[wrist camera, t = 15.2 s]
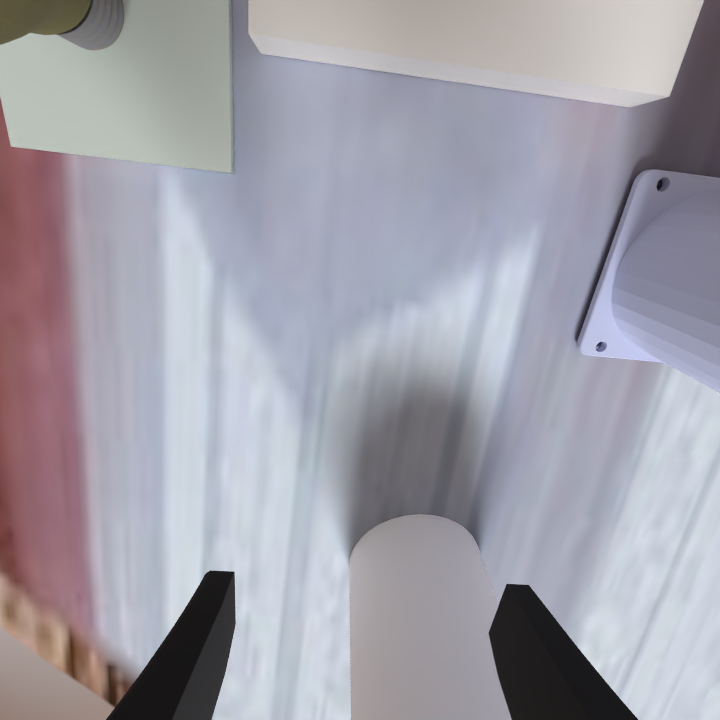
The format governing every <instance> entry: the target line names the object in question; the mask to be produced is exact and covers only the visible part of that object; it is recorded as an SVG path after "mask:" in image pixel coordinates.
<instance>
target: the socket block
mask: <svg viewBox="0 0 720 720" xmlns="http://www.w3.org/2000/svg"><path fill="white" fill-rule="evenodd" d="M703 2H704V0H248V34H249V36H250V37H251V39H252V40H253V42H254V44H255V45H256V47H257V48H258V50H259V52H260V53H261V54H266V55H273V56H280V57H287V58H294V59H300V60H307V61H314V62H321V63H328V64H335V65H342V66H349V67H355V68H362V69H369V70H376V71H383V72H390V73H397V74H403V75H410V76H417V77H424V78H431V79H438V80H445V81H452V82H458V83H465V84H472V85H479V86H486V87H493V88H500V89H506V90H513V91H520V92H527V93H534V94H541V95H548V96H555V97H561V98H568V99H575V100H582V101H589V102H596V103H603V104H609V105H616V106H623V107H634V106H637V105H641V104H645V103H648V102H652V101H655V100H659V99H662V98H666V97H670V94H671V91H672V88H673V85H674V83H675V80H676V77H677V74H678V72H679V69H680V66H681V63H682V60H683V58H684V55H685V52H686V49H687V46H688V44H689V41H690V38H691V35H692V33H693V30H694V27H695V24H696V21H697V19H698V16H699V13H700V10H701V7H702V5H703Z"/></svg>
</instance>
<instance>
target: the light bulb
mask: <svg viewBox="0 0 720 720" xmlns="http://www.w3.org/2000/svg"><path fill="white" fill-rule="evenodd" d="M124 14H125V12H124V4H123V0H0V45H2V44H5V43H8V42H10V41H13V40H15V39H18V38H21V37H23V36H25V35H27V34H29V33H34V34H41V35H58V36H60V37H62V38H64V39H66V40H68V41H70V42H72V43H74V44H76V45H77V46H79V47H82V48H84V49H87V50H93V51H94V50H101V49H105V48H107V47H109V46H111V45H112V44H113V43H114V42H115V41H116V40H117V39H118V37H119V35H120V33H121V31H122V28H123V24H124Z"/></svg>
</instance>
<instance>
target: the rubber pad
mask: <svg viewBox="0 0 720 720" xmlns="http://www.w3.org/2000/svg"><path fill="white" fill-rule="evenodd" d="M123 4H124V12H125V14H124V24H123V28H122V31H121V33H120V35H119V37H118V39H117V40H116V41H115V42H114V43H113V44H112V45H111V46H109V47H107V48H105V49H101V50H94V51H93V50H87V49H84V48H82V47H79V46H77V45H76V44H74V43H72V42H70V41H68V40H66V39H64V38H62V37H60V36H58V35H41V34H34V33H29V34H27V35H25V36H23V37H21V38H18V39H15V40H13V41H10V42H8V43H5V44H2V45H0V97H1V102H2V106H3V111H4V116H5V120H6V125H7V130H8V135H9V139H10V144H11V146H12V147H20V148H28V149H36V150H44V151H53V152H61V153H69V154H77V155H85V156H94V157H102V158H110V159H118V160H127V161H135V162H143V163H151V164H159V165H168V166H176V167H184V168H192V169H200V170H209V171H217V172H225V173H233V174H234V132H233V62H232V0H123Z"/></svg>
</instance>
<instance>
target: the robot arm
mask: <svg viewBox="0 0 720 720" xmlns="http://www.w3.org/2000/svg"><path fill="white" fill-rule="evenodd" d="M660 179H662V181H663V184H662V187H661V188H660V189H659V190H657V188H656V187H657V183H658V181H659V180H660ZM599 342H602V344H601V346H600V347H599V348H597V349H596V345H597V344H598V343H599ZM577 349H578V350H579V351H580V352H581V353H582V354H584V355H590V356H600V357H611V358H622V359H632V360H643V361H654V362H664V363H666V364H668V365H670V366H672V367H674V368H675V369H677V370H679V371H681V372H683V373H685V374H686V375H688V376H690V377H692V378H694V379H695V380H697V381H699V382H701V383H703V384H705V385H706V386H708V387H710V388H712V389H714V390H716V391H717V392H719V393H720V178H717V177H710V176H702V175H695V174H687V173H680V172H672V171H665V170H657V169H652V170H645V171H643V172H641V173H640V174H639V175H638V176H637V177H636V179H635V180H634V183H633V186H632V188H631V191H630V194H629V197H628V200H627V202H626V205H625V208H624V211H623V214H622V217H621V219H620V222H619V225H618V228H617V231H616V234H615V236H614V239H613V242H612V245H611V248H610V250H609V253H608V256H607V259H606V262H605V265H604V267H603V270H602V273H601V276H600V279H599V282H598V284H597V287H596V290H595V293H594V296H593V298H592V301H591V304H590V307H589V310H588V313H587V315H586V318H585V321H584V324H583V327H582V330H581V332H580V335H579V338H578V341H577ZM235 624H236V623H235V578H234V572H228V571H209V572H207V573H206V574H205V576H204V578H203V579H202V581H201V583H200V585H199V586H198V588H197V590H196V592H195V593H194V595H193V597H192V598H191V600H190V601H189V603H188V605H187V606H186V608H185V609H184V611H183V613H182V614H181V616H180V617H179V619H178V620H177V622H176V623H175V625H174V626H173V628H172V630H171V631H170V632H169V634H168V635H167V637H166V638H165V640H164V641H163V643H162V644H161V645H160V647H159V648H158V650H157V651H156V653H155V654H154V656H153V657H152V658H151V660H150V661H149V663H148V664H147V666H146V667H145V668H144V670H143V671H142V673H141V674H140V675H139V677H138V678H137V679H136V681H135V682H134V683H133V685H132V686H131V687H130V689H129V690H128V691H127V693H126V694H125V695H124V697H123V698H122V699H121V701H120V702H119V703H118V705H117V706H116V707H115V709H114V710H113V711H112V713H111V714H110V715H109V716H108V718H107V719H106V720H211V719H212V716H213V712H214V709H215V706H216V702H217V699H218V696H219V692H220V689H221V685H222V682H223V679H224V675H225V672H226V667H227V662H228V658H229V653H230V648H231V643H232V639H233V634H234V629H235ZM489 638H490V643H491V647H492V652H493V657H494V661H495V665H496V670H497V674H498V678H499V681H500V685H501V688H502V691H503V694H504V697H505V700H506V703H507V706H508V709H509V713H510V716H511V719H512V720H638V719H637V718H636V717H635V715H634V714H633V713H632V712H631V711H630V710H629V709H628V707H627V706H626V705H625V704H624V703H623V702H622V701H621V699H620V698H619V697H618V696H617V695H616V693H615V692H614V691H613V690H612V689H611V688H610V686H609V685H608V684H607V683H606V682H605V680H604V679H603V678H602V677H601V675H600V674H599V673H598V672H597V671H596V669H595V668H594V667H593V666H592V665H591V663H590V662H589V661H588V660H587V658H586V657H585V656H584V655H583V654H582V652H581V651H580V650H579V649H578V647H577V646H576V645H575V644H574V642H573V641H572V640H571V638H570V637H569V636H568V635H567V633H566V632H565V631H564V630H563V628H562V627H561V626H560V624H559V623H558V622H557V621H556V619H555V618H554V617H553V615H552V614H551V613H550V612H549V610H548V609H547V608H546V606H545V605H544V604H543V603H542V601H541V600H540V599H539V598H538V596H537V595H536V594H535V592H534V591H533V590H532V589H531V587H530V586H529V585H517V584H507V585H506V587H505V590H504V593H503V595H502V598H501V601H500V603H499V606H498V609H497V611H496V614H495V617H494V619H493V622H492V625H491V627H490V630H489Z"/></svg>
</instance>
